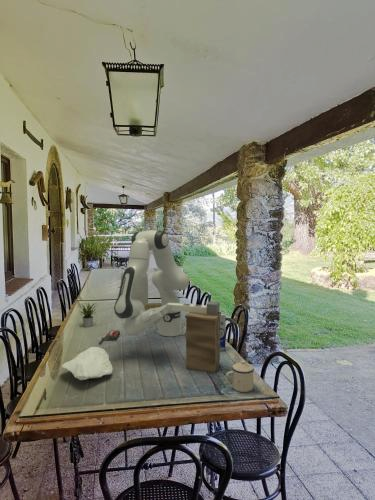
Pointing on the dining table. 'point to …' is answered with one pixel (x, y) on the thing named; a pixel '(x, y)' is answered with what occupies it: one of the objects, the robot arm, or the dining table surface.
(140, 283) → the vase
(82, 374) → the crumpled cloth
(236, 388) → the teacup with lid
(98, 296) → the dining table surface
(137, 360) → the dining table surface
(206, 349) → the stand
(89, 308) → the house plant
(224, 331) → the milk carton
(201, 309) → the power strip
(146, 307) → the planter bowl
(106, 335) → the walkie-talkie
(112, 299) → the dining table surface
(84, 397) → the dining table surface
